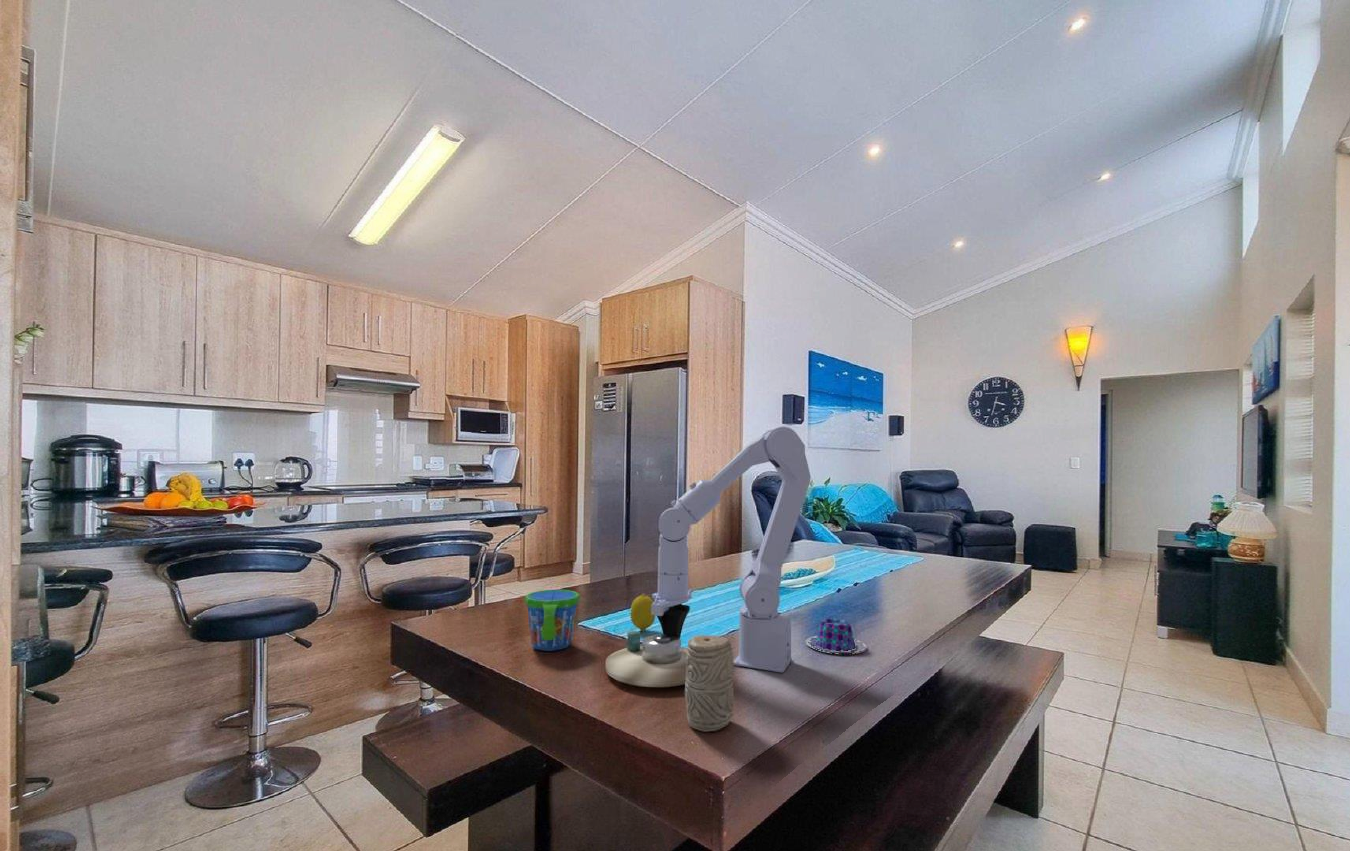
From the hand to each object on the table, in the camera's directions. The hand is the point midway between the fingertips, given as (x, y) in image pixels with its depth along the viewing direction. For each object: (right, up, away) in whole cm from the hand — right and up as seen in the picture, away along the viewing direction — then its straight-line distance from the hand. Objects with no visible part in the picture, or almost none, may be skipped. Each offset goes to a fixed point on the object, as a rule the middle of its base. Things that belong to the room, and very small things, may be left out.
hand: (671, 645), depth 107 cm
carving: (+5, -1, -26) cm, 27 cm away
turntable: (-3, -2, -6) cm, 7 cm away
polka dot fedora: (+33, -4, +10) cm, 35 cm away
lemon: (-6, -4, +18) cm, 19 cm away
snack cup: (-24, -3, +7) cm, 25 cm away
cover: (-2, 0, -4) cm, 5 cm away
